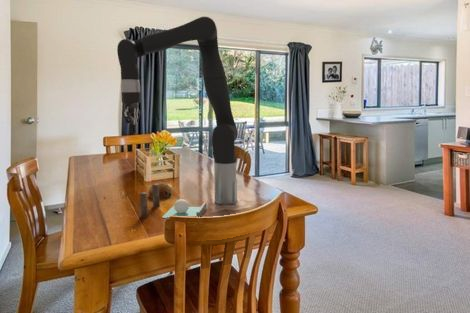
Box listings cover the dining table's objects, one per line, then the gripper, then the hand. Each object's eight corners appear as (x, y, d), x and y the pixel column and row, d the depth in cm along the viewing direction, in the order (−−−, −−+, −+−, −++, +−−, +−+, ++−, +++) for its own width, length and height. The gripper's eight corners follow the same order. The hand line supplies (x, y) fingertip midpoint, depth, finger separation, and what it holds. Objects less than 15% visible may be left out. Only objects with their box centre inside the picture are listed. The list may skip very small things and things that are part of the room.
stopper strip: (206, 208, 142) (206, 202, 141) (199, 218, 130) (199, 212, 130) (204, 208, 142) (203, 202, 141) (196, 218, 130) (196, 212, 130)
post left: (148, 215, 134) (147, 192, 132) (146, 217, 131) (145, 194, 130) (142, 215, 134) (141, 192, 133) (139, 217, 132) (138, 194, 130)
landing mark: (207, 207, 143) (207, 207, 143) (198, 219, 129) (198, 219, 129) (173, 206, 145) (173, 205, 145) (161, 218, 131) (161, 217, 131)
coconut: (165, 199, 166) (159, 183, 167) (178, 194, 160) (172, 177, 160) (148, 205, 158) (142, 188, 159) (161, 199, 152) (155, 181, 153)
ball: (183, 194, 138) (174, 203, 139) (178, 198, 132) (169, 207, 134) (193, 204, 138) (184, 213, 139) (188, 209, 132) (179, 218, 134)
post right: (160, 205, 146) (159, 184, 144) (158, 207, 144) (157, 185, 142) (154, 204, 146) (153, 183, 145) (152, 206, 144) (151, 185, 142)
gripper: (132, 91, 137) (135, 135, 140) (146, 91, 150) (147, 132, 153) (114, 91, 138) (117, 135, 141) (129, 91, 151) (131, 131, 154)
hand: (133, 133), depth 147 cm, fingers closed
